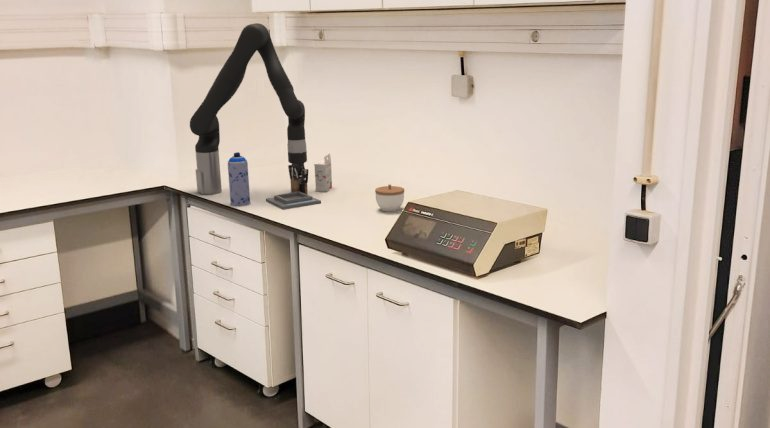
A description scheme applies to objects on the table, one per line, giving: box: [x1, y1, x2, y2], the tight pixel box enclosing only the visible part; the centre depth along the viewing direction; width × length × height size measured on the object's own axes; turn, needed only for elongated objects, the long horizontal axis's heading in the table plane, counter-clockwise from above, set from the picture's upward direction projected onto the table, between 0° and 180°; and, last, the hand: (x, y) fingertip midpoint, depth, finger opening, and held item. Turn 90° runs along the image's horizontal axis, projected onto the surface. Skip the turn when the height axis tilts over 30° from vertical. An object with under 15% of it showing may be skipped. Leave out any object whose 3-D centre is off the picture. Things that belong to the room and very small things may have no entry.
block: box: [289, 178, 309, 195], centre depth 290 cm, size 5×5×6 cm
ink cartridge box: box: [313, 153, 333, 193], centre depth 296 cm, size 9×5×15 cm, turn 168°
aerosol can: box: [227, 151, 252, 207], centre depth 274 cm, size 8×8×20 cm
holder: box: [265, 191, 322, 210], centre depth 277 cm, size 16×16×2 cm
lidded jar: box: [375, 184, 405, 213], centre depth 263 cm, size 11×11×9 cm
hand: (299, 191), depth 290 cm, fingers closed on block, 5 cm apart
